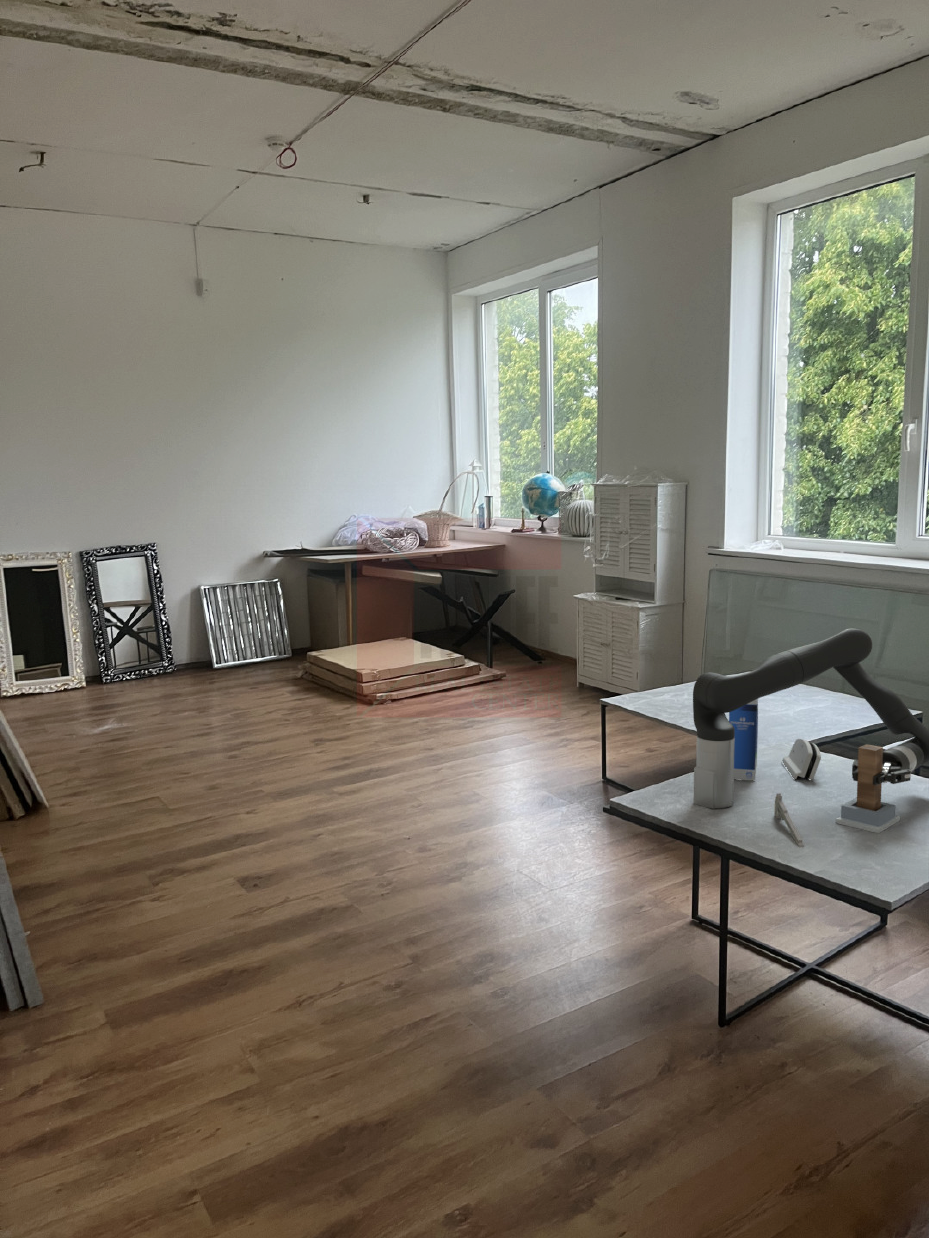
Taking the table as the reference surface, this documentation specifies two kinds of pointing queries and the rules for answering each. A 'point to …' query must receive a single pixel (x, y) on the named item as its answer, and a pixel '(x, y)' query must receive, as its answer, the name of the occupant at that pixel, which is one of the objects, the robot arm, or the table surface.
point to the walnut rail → (869, 777)
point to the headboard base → (868, 816)
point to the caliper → (786, 819)
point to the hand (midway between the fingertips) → (864, 778)
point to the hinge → (803, 759)
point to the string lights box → (745, 740)
